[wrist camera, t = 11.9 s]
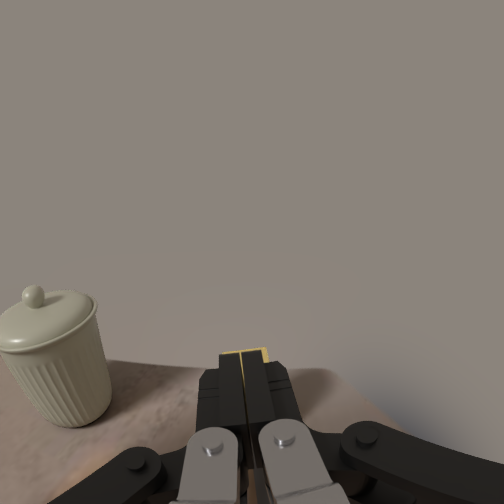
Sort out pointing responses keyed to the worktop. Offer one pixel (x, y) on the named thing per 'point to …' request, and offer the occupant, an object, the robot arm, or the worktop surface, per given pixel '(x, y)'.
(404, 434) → the robot arm
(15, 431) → the worktop surface
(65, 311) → the canister
